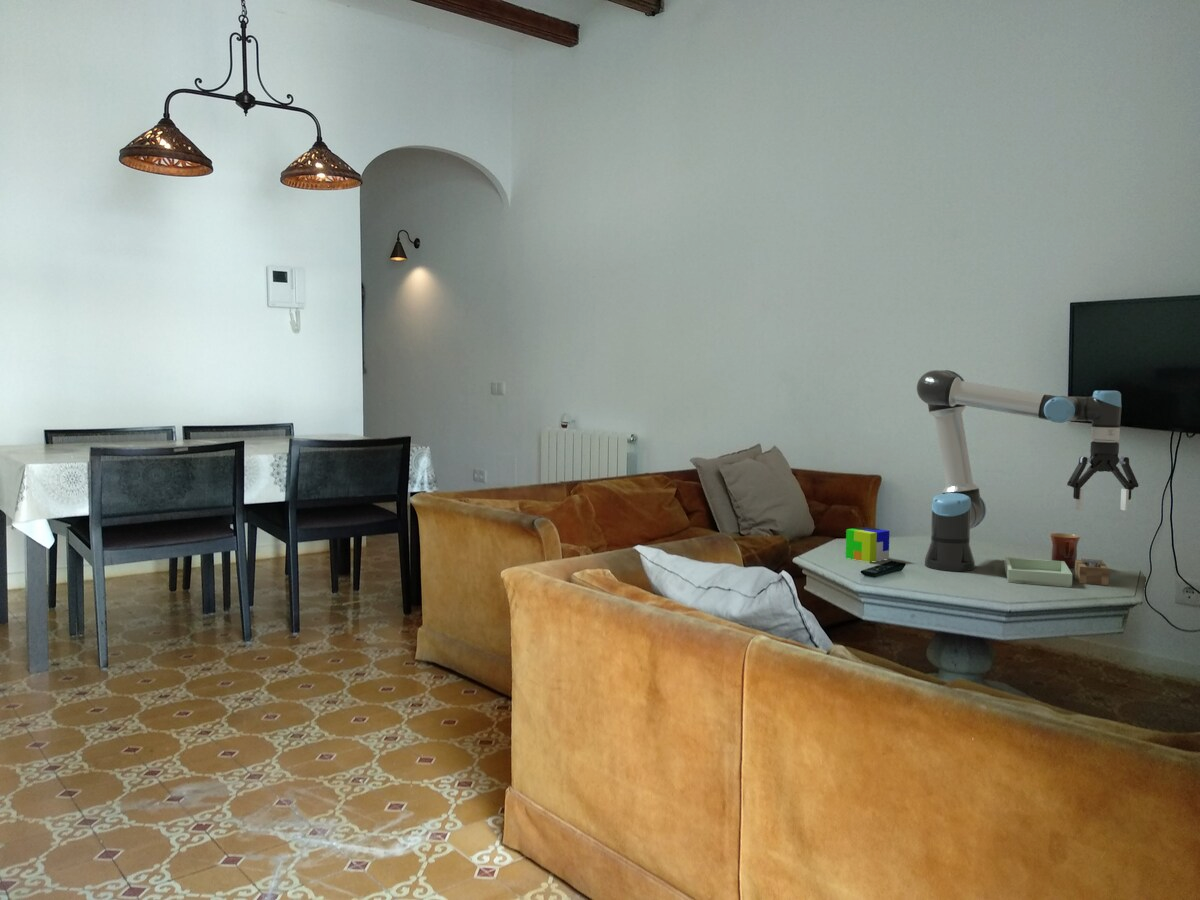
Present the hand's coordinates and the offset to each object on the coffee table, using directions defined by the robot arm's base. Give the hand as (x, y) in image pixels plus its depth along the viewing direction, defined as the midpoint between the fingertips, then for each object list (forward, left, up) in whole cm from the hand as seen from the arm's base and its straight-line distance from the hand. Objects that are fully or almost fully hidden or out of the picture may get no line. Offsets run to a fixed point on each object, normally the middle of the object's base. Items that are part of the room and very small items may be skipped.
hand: (1101, 510), depth 266 cm
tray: (-18, -8, -21) cm, 28 cm away
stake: (-3, -6, -21) cm, 22 cm away
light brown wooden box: (-3, -6, -21) cm, 22 cm away
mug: (-8, +12, -21) cm, 26 cm away
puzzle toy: (-69, +2, -21) cm, 72 cm away
